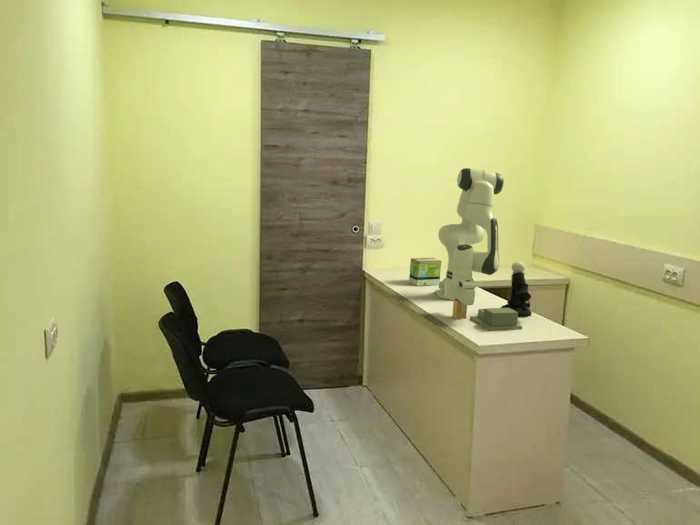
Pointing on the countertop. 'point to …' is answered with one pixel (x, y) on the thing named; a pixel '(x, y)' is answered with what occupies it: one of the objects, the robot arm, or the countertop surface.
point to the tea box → (425, 271)
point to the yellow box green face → (458, 309)
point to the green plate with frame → (497, 318)
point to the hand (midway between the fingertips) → (459, 309)
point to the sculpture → (519, 291)
